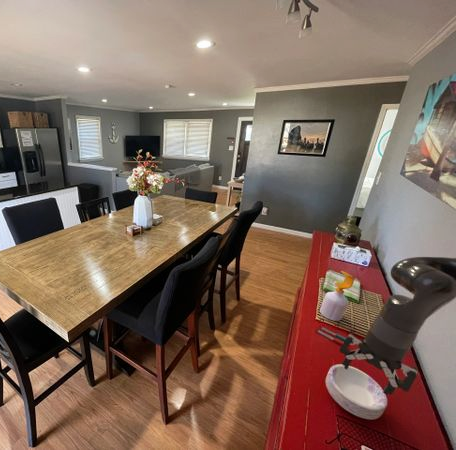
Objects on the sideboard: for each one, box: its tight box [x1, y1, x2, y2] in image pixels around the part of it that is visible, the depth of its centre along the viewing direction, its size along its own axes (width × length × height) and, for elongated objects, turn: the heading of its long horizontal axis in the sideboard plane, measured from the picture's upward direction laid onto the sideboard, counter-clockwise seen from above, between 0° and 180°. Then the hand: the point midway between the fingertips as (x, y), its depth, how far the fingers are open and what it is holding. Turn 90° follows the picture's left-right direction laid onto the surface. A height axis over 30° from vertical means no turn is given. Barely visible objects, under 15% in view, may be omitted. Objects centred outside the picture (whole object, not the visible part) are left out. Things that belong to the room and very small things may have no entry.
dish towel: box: [322, 269, 361, 304], centre depth 139 cm, size 17×23×4 cm
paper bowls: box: [325, 363, 388, 420], centre depth 79 cm, size 15×15×8 cm
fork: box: [320, 326, 347, 342], centre depth 107 cm, size 9×2×1 cm, turn 43°
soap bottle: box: [319, 270, 356, 322], centre depth 114 cm, size 9×9×25 cm
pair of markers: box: [317, 329, 345, 346], centre depth 105 cm, size 10×2×1 cm, turn 43°
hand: (364, 378), depth 65 cm, fingers open, 8 cm apart
